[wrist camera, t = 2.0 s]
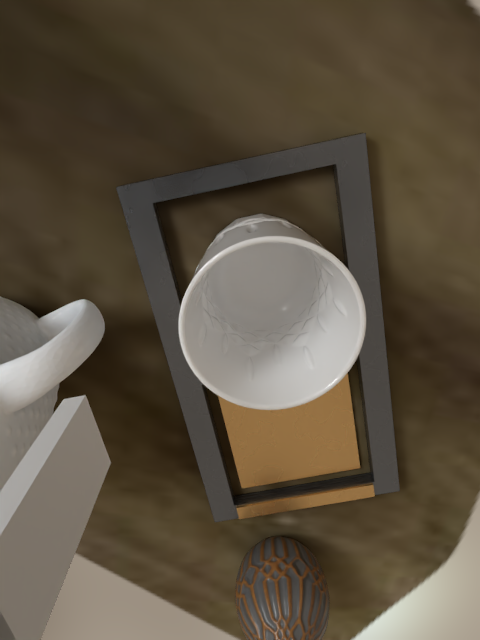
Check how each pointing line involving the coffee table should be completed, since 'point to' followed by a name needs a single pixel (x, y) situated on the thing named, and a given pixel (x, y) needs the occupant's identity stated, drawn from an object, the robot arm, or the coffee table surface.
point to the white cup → (270, 316)
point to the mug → (38, 369)
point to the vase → (282, 592)
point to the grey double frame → (297, 422)
